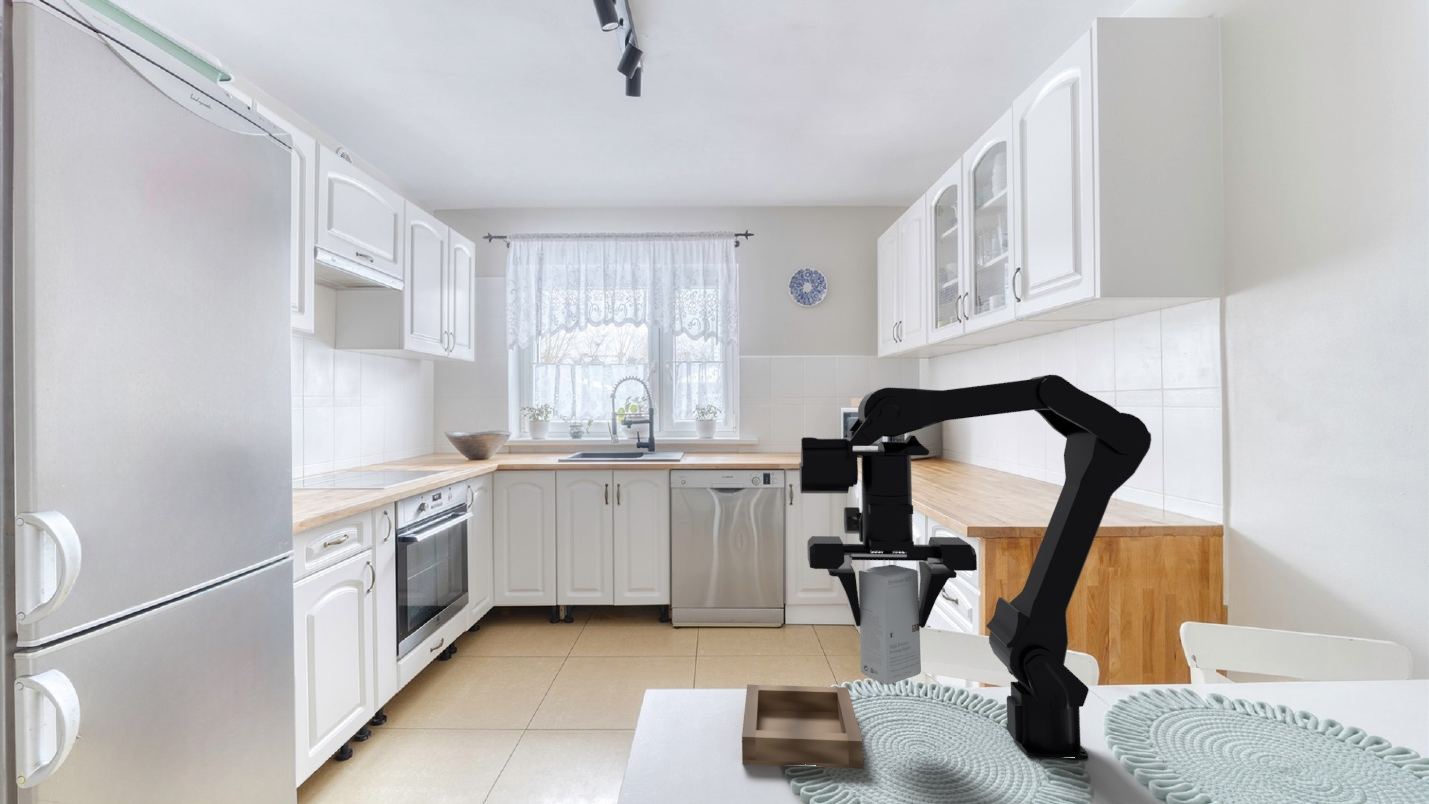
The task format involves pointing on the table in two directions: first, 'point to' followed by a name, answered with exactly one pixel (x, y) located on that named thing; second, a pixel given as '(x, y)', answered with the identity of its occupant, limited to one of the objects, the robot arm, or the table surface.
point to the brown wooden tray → (801, 727)
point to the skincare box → (889, 623)
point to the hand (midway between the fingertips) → (889, 625)
